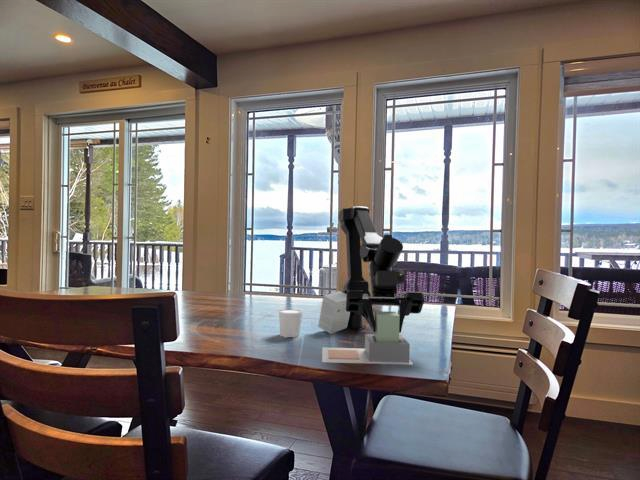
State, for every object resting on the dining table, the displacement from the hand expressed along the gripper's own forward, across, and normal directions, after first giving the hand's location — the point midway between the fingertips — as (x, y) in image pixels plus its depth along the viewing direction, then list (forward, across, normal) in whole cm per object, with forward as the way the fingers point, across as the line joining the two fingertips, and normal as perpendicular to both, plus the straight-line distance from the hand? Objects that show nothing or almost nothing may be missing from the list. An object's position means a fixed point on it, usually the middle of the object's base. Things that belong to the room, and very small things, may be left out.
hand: (387, 331), depth 91 cm
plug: (+3, 0, +5) cm, 6 cm away
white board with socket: (+4, -5, +6) cm, 9 cm away
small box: (-17, -12, +26) cm, 33 cm away
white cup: (-12, -24, +22) cm, 35 cm away
